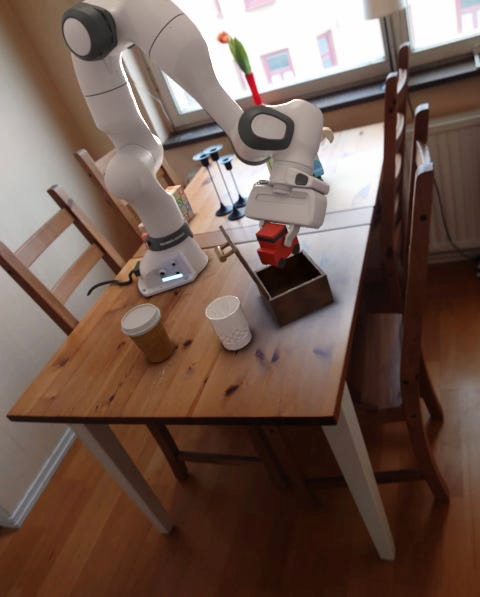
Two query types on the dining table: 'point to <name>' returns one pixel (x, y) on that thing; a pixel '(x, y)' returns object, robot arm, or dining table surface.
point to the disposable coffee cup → (147, 331)
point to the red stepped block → (275, 245)
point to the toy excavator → (317, 164)
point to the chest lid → (223, 258)
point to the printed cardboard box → (181, 201)
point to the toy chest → (294, 288)
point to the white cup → (229, 322)
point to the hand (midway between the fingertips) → (274, 244)
